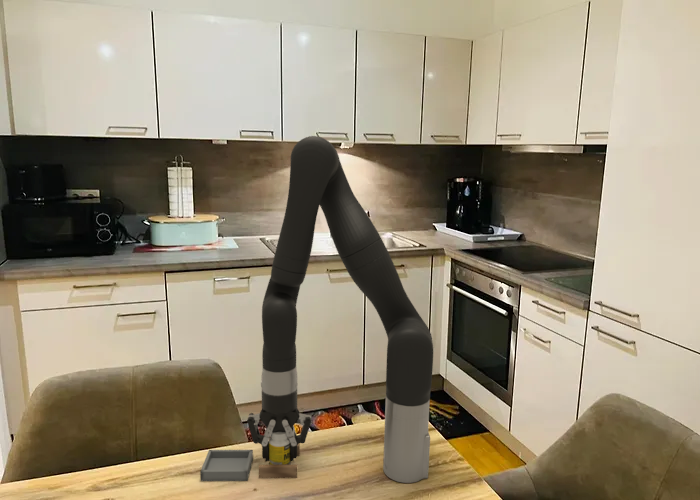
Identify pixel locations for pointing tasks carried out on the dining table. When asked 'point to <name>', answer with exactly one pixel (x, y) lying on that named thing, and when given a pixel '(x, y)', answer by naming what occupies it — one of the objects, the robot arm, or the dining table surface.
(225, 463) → the tray
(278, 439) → the supplement bottle
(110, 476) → the dining table surface
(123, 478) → the dining table surface
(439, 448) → the dining table surface
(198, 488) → the dining table surface
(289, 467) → the slot rails
